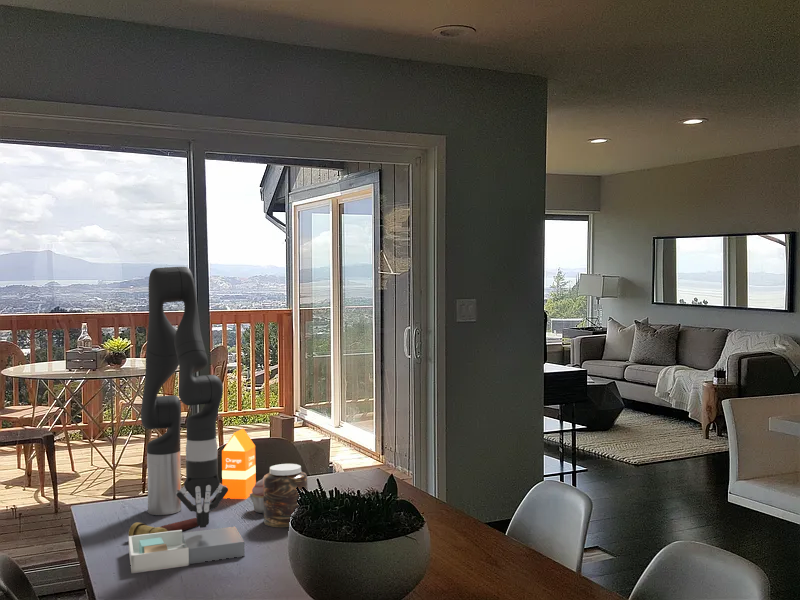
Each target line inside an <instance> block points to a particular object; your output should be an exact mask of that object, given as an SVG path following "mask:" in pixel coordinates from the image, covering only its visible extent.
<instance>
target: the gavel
mask: <svg viewBox="0 0 800 600" xmlns="http://www.w3.org/2000/svg"><path fill="white" fill-rule="evenodd" d="M196 526H197V527H199V526H198V524H197V519H196V517H192V518H189V519H184V520H180V521H177V522H173V523H168V524H164V525H161V526H157V527H154V526H150V525H147V524H146V523H144V522H143V523H142V522H134V523H133V524H131V525H130V527H129V529H128V537H129V536H134V535H143V534H151V533H159V532H167V531H176V530H182V532H183V531H186V530H187V531H188V530H190V528H191V529H194V528H196ZM193 527H194V528H193Z"/></svg>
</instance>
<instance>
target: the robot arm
mask: <svg viewBox="0 0 800 600" xmlns="http://www.w3.org/2000/svg"><path fill="white" fill-rule="evenodd" d="M148 278H149V279H148V325H147V336H146V337H147V338H146V345H145V346H146V349H145V378H144V387H143V393H142V399H141V407H140V420H141V425H142V426H143V428H144V429H147V430H156V429H157V430H158V429H159V430H160V429H167V430H166V431H165V433H163V434H162V435H161V436H159V437H157V438H155V439H152V440H149V442H147V445H146V455H147V456H146V460H147V467H146V468H147V512H148V514H149V515H151V516H152V515H153V516H154V515H155V516H166V515H172V514H176V513H178V512H180V511H181V510H182V504H184V506H185V507H186V508H187V509H188V510H189V512H195V513H196V515H195V518H196V519H197V524H198V526H197V527H199V528H200V529H202V528H203V529H204V528H207V525H209V524H210V512H211V510H216V508H217V507H218V506H219V504H220V503H221V501H222V500H223V499H224V498H223V497H224V496H225V495H226V493H227V492H228V488H227V486H225V485H222V482H220V481H221V480H220V478H219V475H218V455H219V451H218V442H217V417H218V414H219V409H220V405H221V401H222V397H223V393H224V392H223V391H224V385H223V382H222V380H221V378H220V377H219V376H217V375H215V374H206V375H205V374H204V375H195V376H194V375H193V374H195V373H198V372H201V371H202V370H204V369H206V367H207V366H208V363H209V361H208V360H209V359H208V355H207V352H206V348H205V343H204V340H203V335H202V331H201V325H200V315H199V306H198V300H197V291H196V284H195V278H194V275H193V272H192V271H191V269H190V268H189V267H187V266H169V267H167V266H166V267H165V266H164V267H155V268H152V270H151V271H150V273H149V277H148ZM180 302H183V305H184V309H183V311H184V312H183V314H182V317H181V320H180V322H179V325H178V327H177V328H174V326H173V325H172V324H171V321H170V320H169V319H168V317H167V315H166V313H165V311H164V305H165V303H180ZM177 369H179V377H178V378H179V379H178V380H179V381H178V389H177V390H178V393H177V394H178V396H177V395H160V396H158V394H159V392H160V390H161V388H162V386H163V385H165V383H166V382H167V381H169V379H170V378H171V377H172V375H173V374H174V373H175V372H176V370H177ZM181 403H183V404H184V405H186V406H198V405H199V406H200V405H203V408H202V409H201V410H200V411H199V412H196V413H193V414H191V415H189V416H188V417H187V419H186V444H185V481H184V482H183V486H182V467H181V466H182V464H181V463H182V462H181V424H182V422H181V421H182V404H181ZM216 490H217V494H216V495H215V496H214V497H213V499H212V500H211V497H212V496H213V495H214V493H215V492H216ZM187 492H188V493H189V494H190V496H191V497H192V498H193V499H194V503H195V504H193V503H192V502H191V501H190V500H189V499H188V498H187V496H188V493H187Z"/></svg>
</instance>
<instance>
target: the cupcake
mask: <svg viewBox="0 0 800 600" xmlns="http://www.w3.org/2000/svg"><path fill="white" fill-rule="evenodd" d="M263 484H264V476H263V477H262V479H260V480H258V481H256V483H255V486H254V487H253V488H252V493H250V496H249V498H250V500H251V502H252V505H253V510H254V512H256V513H259V514H264V503H263Z"/></svg>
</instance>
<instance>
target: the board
mask: <svg viewBox="0 0 800 600" xmlns="http://www.w3.org/2000/svg"><path fill="white" fill-rule="evenodd" d="M182 545H183V548H189V565H192V564H193V565H194V564H199V563H206V562H205V561H208V562H213V561H212V560H215V561H220V560H219V559H222V560H227V559H226V558H229V559H235V558H234V557H237V558H243V557H242V556H244V557H245V554H246V553H245V541H244V538H243V537H242V535H241V534H240V532H239V531H238V528H237V527H236V526H228V527H219V528H212V529H204V530H195V531H194V530H193V531H187V532H182Z"/></svg>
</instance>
